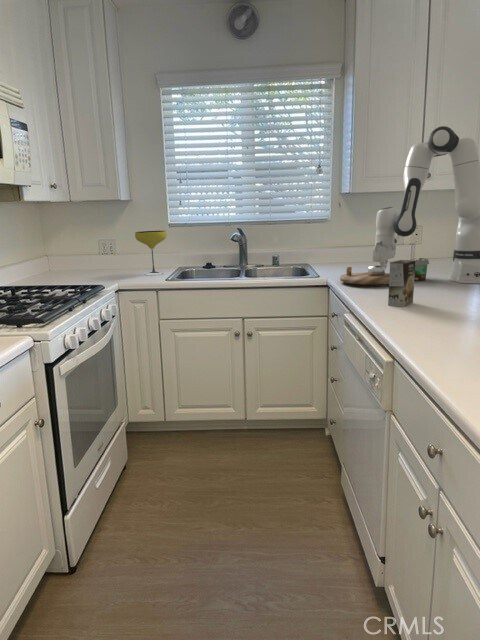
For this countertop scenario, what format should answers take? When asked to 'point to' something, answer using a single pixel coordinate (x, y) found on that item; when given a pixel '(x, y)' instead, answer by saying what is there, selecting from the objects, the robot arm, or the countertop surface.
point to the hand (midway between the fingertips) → (383, 269)
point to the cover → (376, 270)
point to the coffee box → (401, 283)
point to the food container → (421, 269)
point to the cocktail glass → (151, 240)
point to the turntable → (364, 278)
